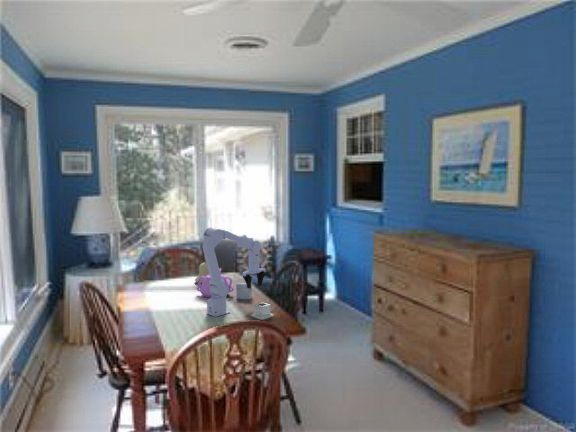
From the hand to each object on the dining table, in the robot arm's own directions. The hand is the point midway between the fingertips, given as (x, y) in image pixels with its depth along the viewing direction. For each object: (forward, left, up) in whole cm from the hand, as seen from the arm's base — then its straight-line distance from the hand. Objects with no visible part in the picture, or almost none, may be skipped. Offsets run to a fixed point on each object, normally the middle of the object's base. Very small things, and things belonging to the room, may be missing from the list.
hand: (254, 286), depth 252 cm
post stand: (-10, -18, -10) cm, 23 cm away
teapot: (-2, +33, -10) cm, 35 cm away
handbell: (+11, +62, -10) cm, 64 cm away
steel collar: (-10, -18, -9) cm, 22 cm away
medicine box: (+4, +14, -10) cm, 18 cm away
